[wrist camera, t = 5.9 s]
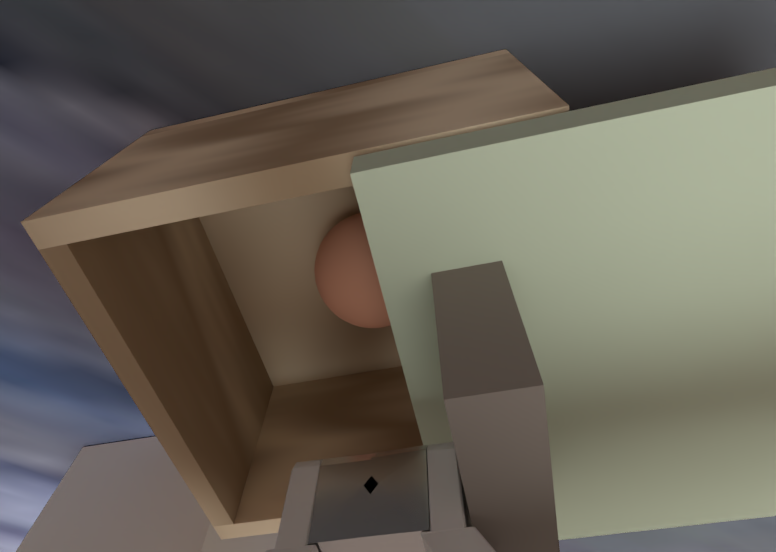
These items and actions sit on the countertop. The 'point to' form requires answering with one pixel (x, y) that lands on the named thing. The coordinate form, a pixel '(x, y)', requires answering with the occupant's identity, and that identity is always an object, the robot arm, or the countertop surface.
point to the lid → (591, 309)
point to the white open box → (129, 507)
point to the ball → (350, 275)
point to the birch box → (257, 276)
